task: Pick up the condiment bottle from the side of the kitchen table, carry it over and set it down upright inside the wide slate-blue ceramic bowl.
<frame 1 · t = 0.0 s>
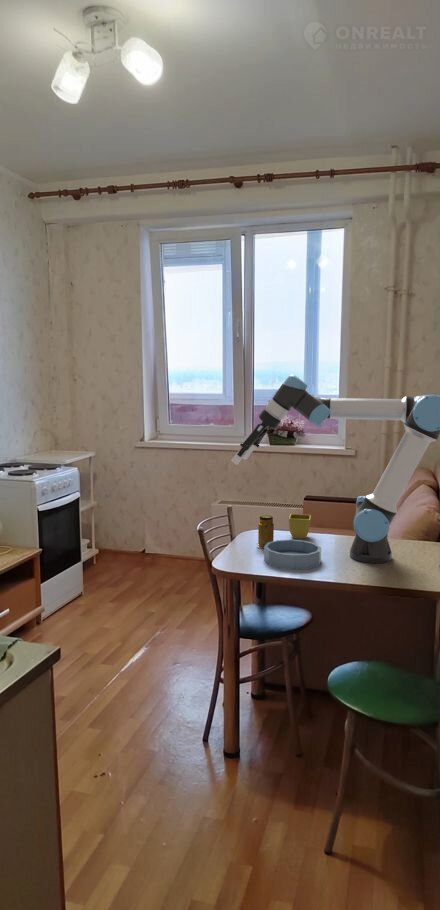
hand: (238, 460, 213), 36 cm above the table, tool tilted 35°, fingers open, 13 cm apart
bowl: (292, 560, 212), on the table
flower pot: (299, 537, 244), on the table
condiment: (267, 546, 231), on the table
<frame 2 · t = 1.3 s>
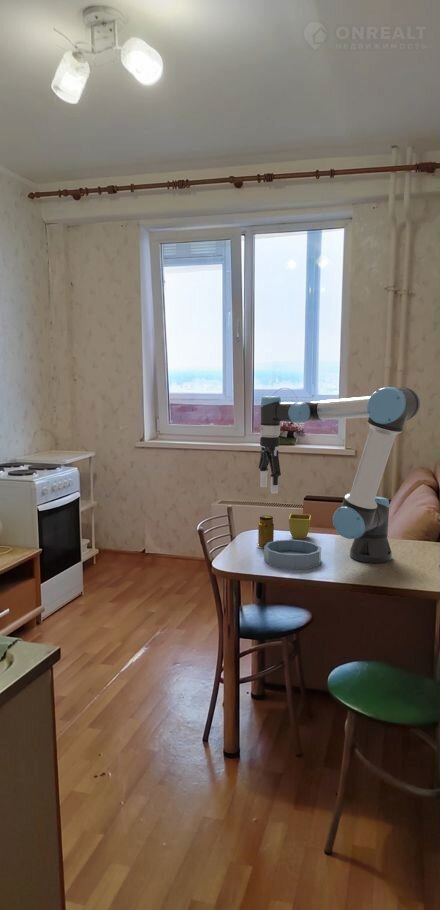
hand: (268, 490, 228), 22 cm above the table, tool pointing down, fingers open, 13 cm apart
nothing on the table moved.
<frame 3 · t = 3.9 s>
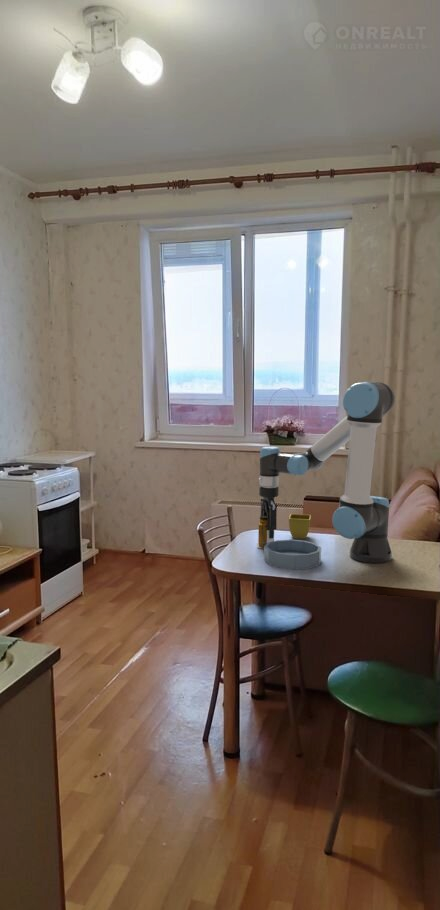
hand: (267, 543, 231), 1 cm above the table, tool pointing down, fingers closed on condiment, 6 cm apart
condiment: (268, 546, 231), on the table, touching gripper
everything else where it was.
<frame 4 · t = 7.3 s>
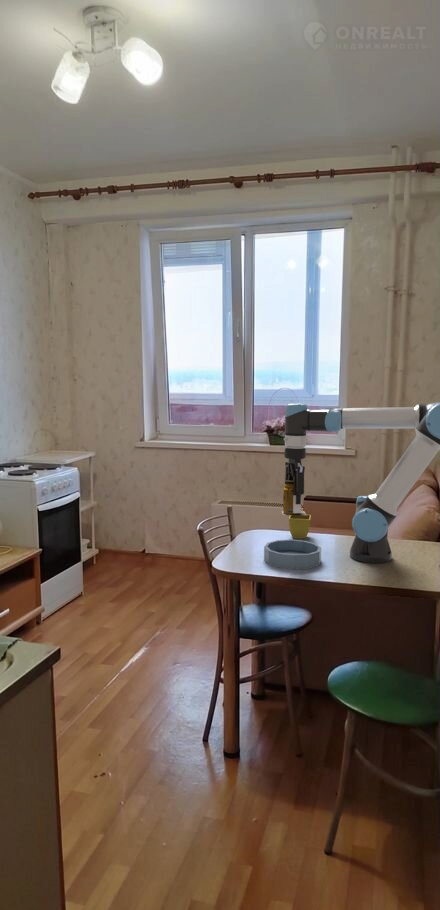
hand: (293, 510, 210), 18 cm above the table, tool pointing down, fingers closed on condiment, 6 cm apart
condiment: (293, 514, 210), point 17 cm above the table, touching gripper
everything else where it was.
when the fingers open (3 cm above the table, at t = 10.7 s): condiment drops 1 cm, resting on bowl.
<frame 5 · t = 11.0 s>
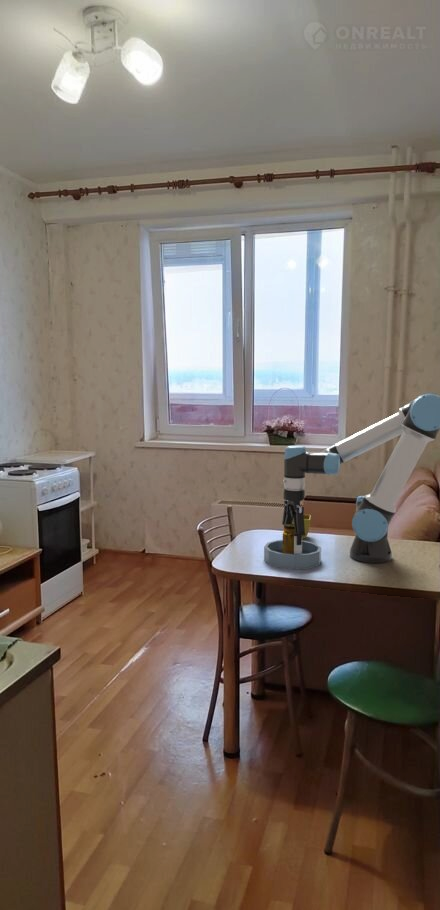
hand: (292, 549, 212), 4 cm above the table, tool pointing down, fingers open, 10 cm apart
condiment: (292, 558, 212), point 1 cm above the table, touching bowl
everything else where it was.
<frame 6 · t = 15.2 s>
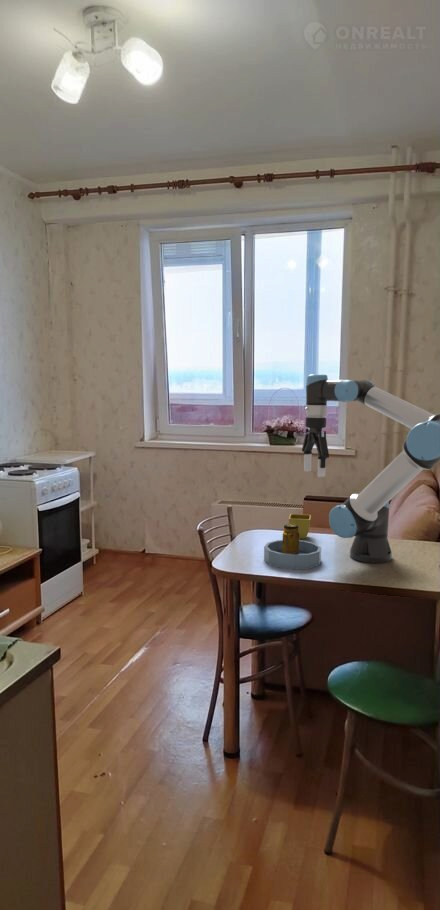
hand: (314, 474, 217), 31 cm above the table, tool pointing down, fingers open, 13 cm apart
nothing on the table moved.
at the end: condiment inside the target area on the bowl (0.4 cm from its centre), point 1.0 cm above the bowl's base; condiment tilted 0°; the gripper is holding nothing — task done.
